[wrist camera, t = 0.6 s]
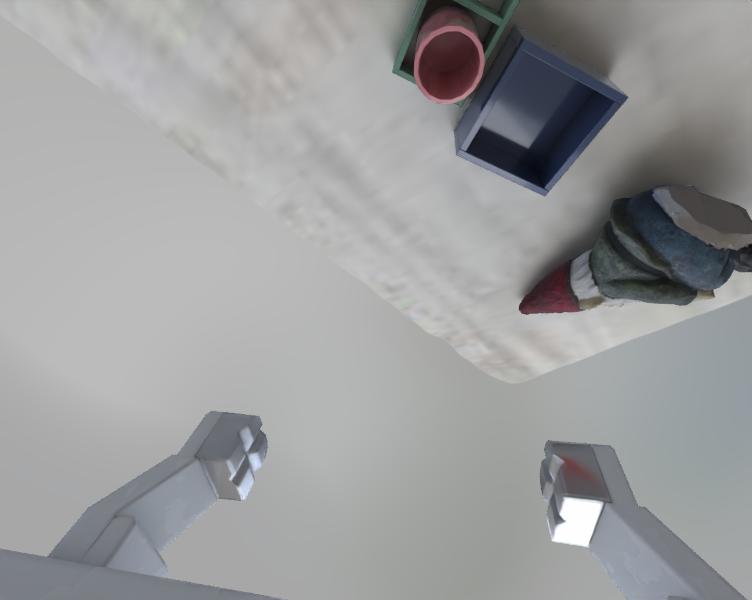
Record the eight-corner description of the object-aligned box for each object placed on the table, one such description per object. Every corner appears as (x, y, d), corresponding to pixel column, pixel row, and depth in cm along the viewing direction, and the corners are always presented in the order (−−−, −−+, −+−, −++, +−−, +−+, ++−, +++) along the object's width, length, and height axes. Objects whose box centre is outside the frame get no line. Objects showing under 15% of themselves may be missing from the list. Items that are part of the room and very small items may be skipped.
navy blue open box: (514, 24, 40) (524, 38, 36) (608, 77, 42) (628, 97, 38) (453, 132, 48) (455, 154, 44) (535, 171, 51) (544, 196, 46)
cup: (434, -7, 39) (434, 11, 32) (488, 23, 40) (498, 46, 33) (407, 58, 43) (402, 86, 36) (456, 83, 44) (460, 114, 38)
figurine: (555, 214, 71) (573, 293, 72) (488, 232, 64) (509, 319, 65) (770, 155, 45) (791, 281, 46) (697, 175, 38) (725, 323, 39)
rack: (474, -140, 32) (477, -143, 30) (558, -85, 34) (566, -85, 32) (393, 64, 44) (391, 72, 42) (460, 97, 45) (461, 107, 43)
